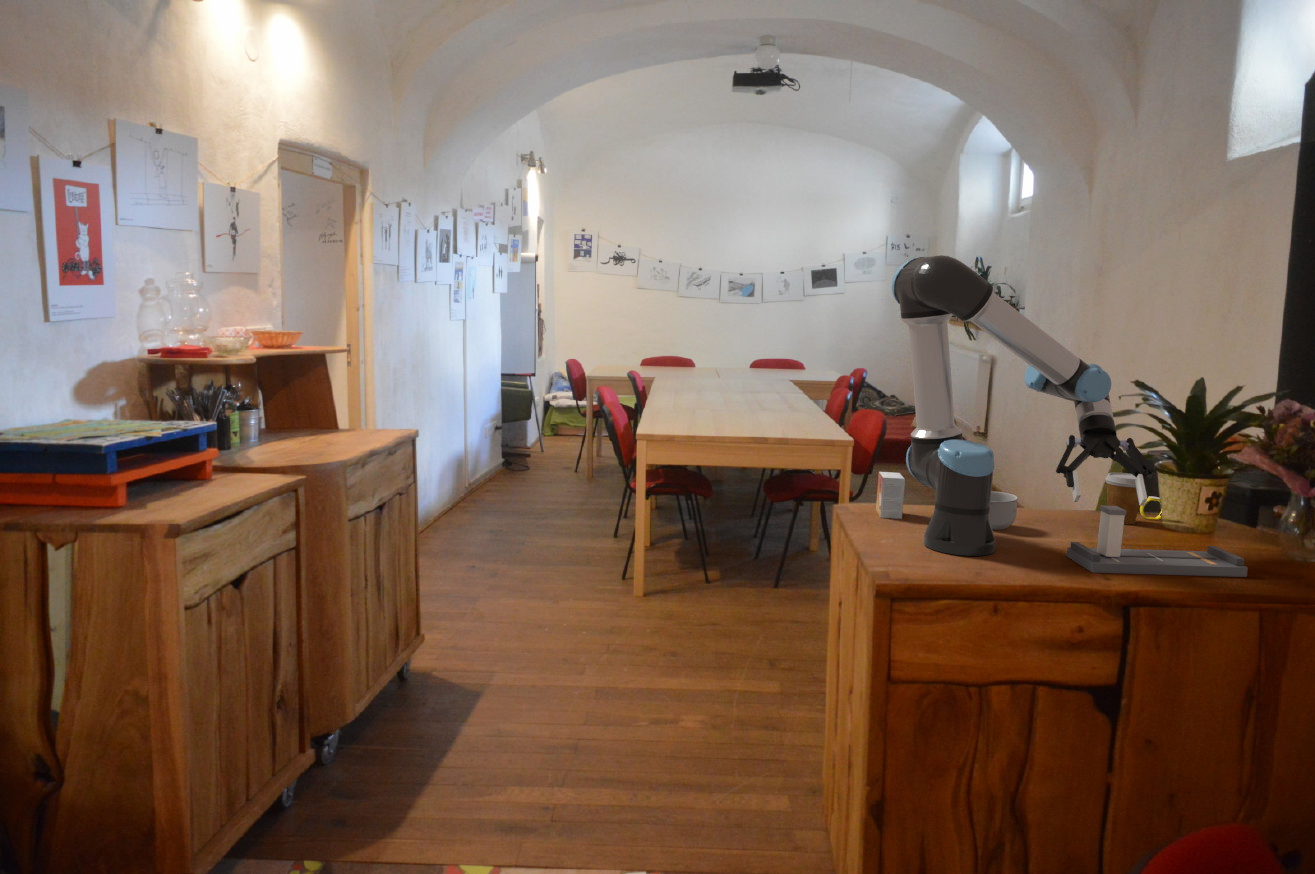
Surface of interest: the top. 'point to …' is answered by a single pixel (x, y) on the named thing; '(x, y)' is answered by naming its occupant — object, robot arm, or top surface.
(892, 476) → the small box
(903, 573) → the top surface
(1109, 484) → the disposable coffee cup
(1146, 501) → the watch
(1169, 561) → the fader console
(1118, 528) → the fader knob
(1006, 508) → the teacup
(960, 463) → the robot arm
